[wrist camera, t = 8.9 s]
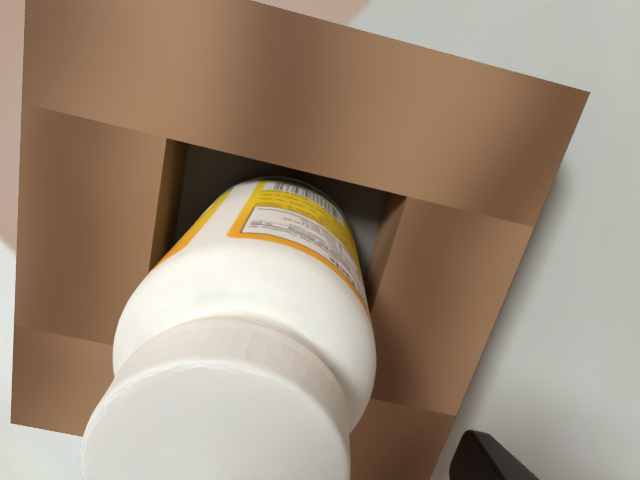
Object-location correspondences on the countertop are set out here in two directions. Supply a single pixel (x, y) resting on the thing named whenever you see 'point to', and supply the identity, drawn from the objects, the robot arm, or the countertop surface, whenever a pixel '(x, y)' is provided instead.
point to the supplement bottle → (241, 348)
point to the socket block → (272, 160)
